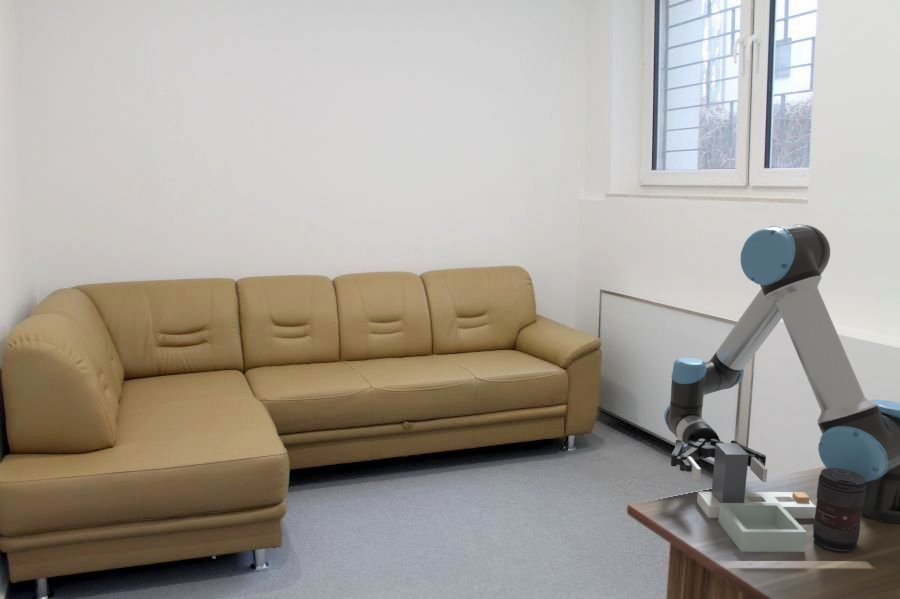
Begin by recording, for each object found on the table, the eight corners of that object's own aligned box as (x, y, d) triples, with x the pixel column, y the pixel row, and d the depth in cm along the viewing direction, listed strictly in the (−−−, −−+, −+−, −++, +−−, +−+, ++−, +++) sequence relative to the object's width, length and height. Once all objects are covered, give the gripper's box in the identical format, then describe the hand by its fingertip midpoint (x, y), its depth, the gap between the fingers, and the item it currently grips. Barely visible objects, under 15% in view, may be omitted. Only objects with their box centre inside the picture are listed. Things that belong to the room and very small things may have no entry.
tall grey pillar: (731, 502, 167) (737, 443, 164) (742, 516, 161) (748, 454, 158) (710, 502, 167) (715, 443, 164) (720, 515, 161) (726, 454, 158)
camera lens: (863, 562, 146) (873, 486, 143) (816, 556, 148) (825, 481, 145) (850, 540, 154) (859, 468, 151) (806, 536, 155) (814, 464, 153)
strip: (799, 507, 168) (801, 487, 167) (814, 522, 161) (817, 502, 160) (696, 506, 167) (698, 487, 166) (707, 522, 160) (709, 501, 160)
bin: (776, 526, 159) (779, 503, 158) (804, 556, 148) (806, 532, 147) (717, 526, 159) (719, 502, 158) (740, 556, 147) (743, 531, 146)
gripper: (750, 453, 182) (790, 493, 161) (642, 452, 182) (669, 492, 161) (753, 422, 181) (794, 458, 160) (644, 421, 180) (672, 457, 160)
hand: (731, 475), depth 160 cm, fingers open, 13 cm apart
